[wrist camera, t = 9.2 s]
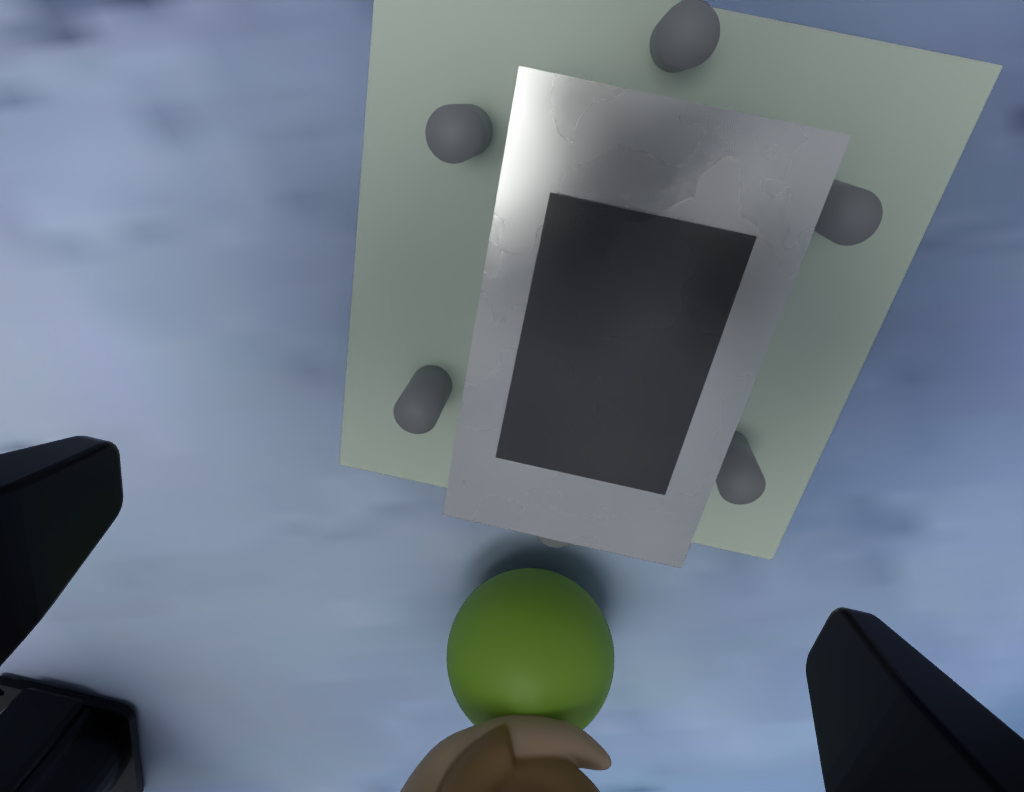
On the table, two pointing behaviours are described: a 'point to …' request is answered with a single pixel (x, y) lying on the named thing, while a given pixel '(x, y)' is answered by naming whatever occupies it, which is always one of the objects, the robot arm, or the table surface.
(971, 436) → the table surface
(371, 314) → the peg board
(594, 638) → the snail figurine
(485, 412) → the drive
